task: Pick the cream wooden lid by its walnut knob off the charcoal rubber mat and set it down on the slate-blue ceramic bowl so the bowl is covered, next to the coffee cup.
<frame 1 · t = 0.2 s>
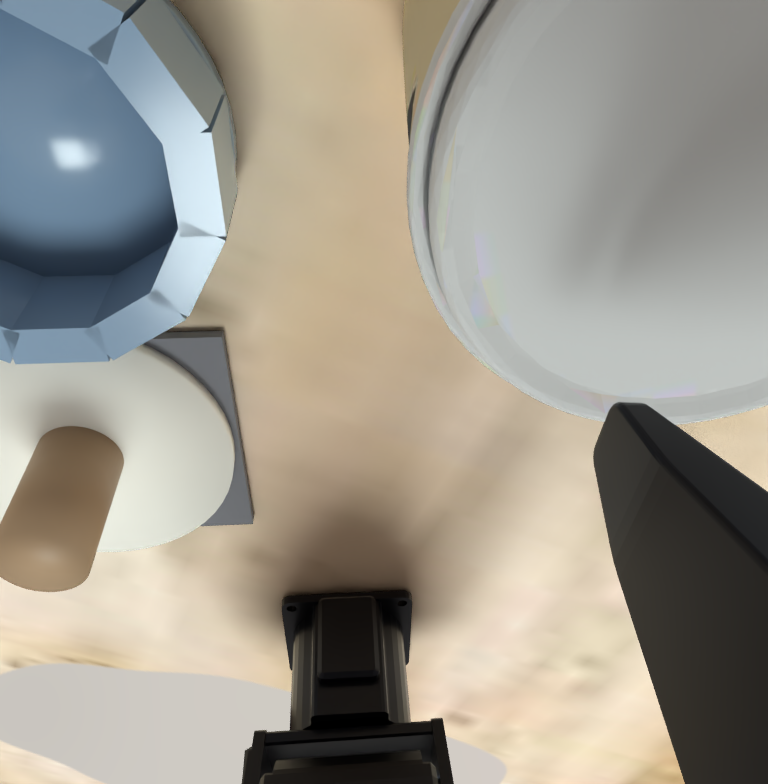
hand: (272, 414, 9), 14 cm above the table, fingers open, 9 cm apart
coffee cup: (540, 15, 19), on the table
mat: (87, 439, 28), on the table
bowl: (51, 134, 20), on the table
lid: (85, 446, 28), resting on mat
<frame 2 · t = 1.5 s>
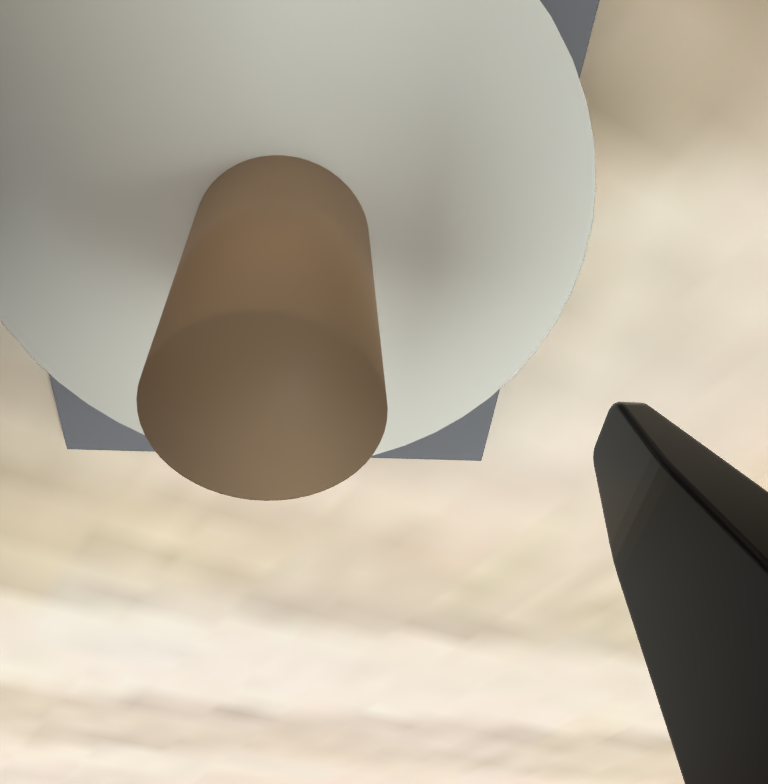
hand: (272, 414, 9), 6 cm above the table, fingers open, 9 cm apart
mat: (285, 218, 14), on the table
lid: (284, 226, 13), resting on mat
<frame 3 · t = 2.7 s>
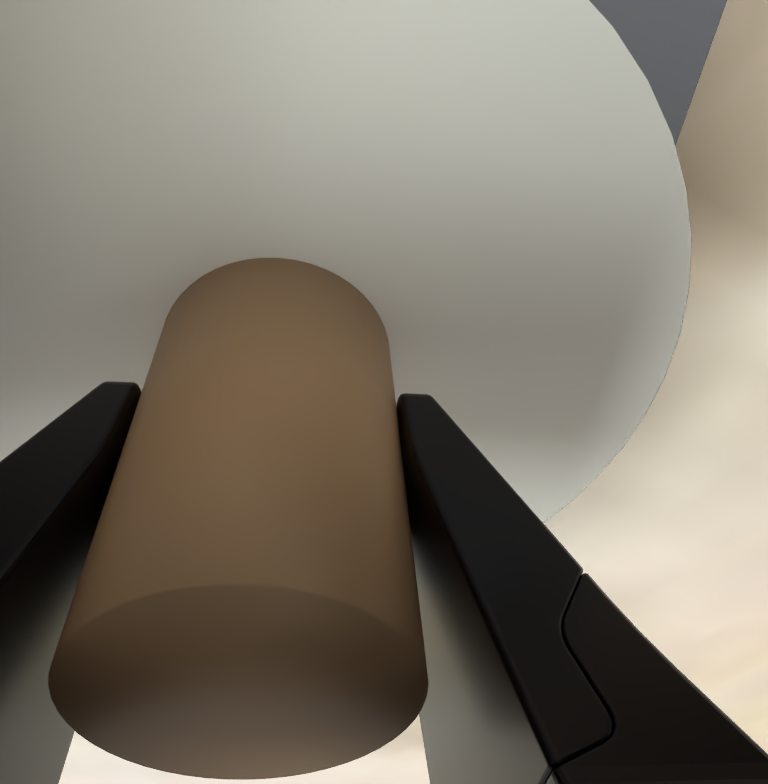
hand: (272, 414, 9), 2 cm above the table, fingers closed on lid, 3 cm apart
mat: (280, 320, 11), on the table
lid: (279, 335, 10), resting on mat, touching gripper
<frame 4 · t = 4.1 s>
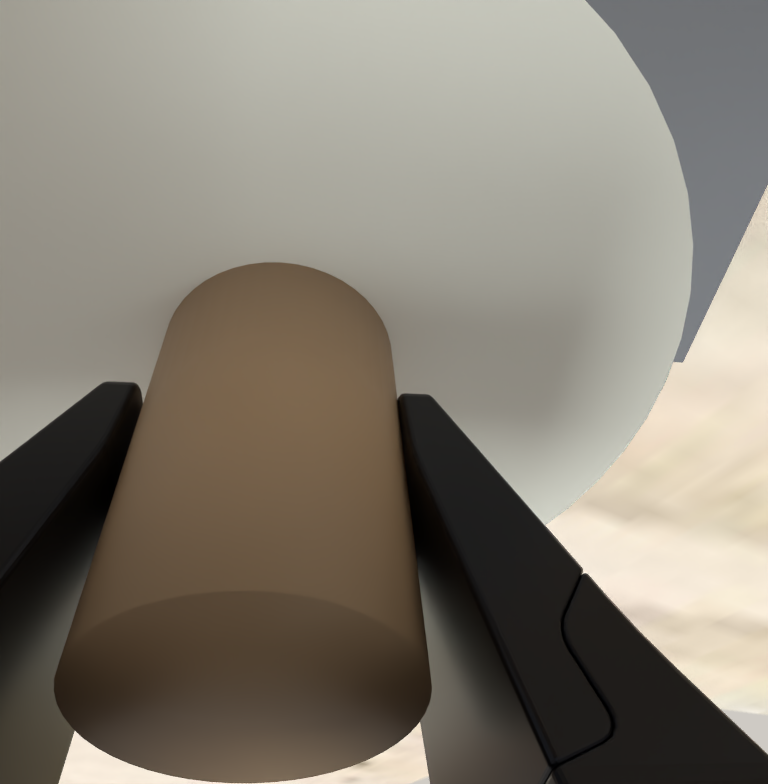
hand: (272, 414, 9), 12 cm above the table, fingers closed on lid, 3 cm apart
mat: (592, 174, 20), on the table
lid: (282, 339, 10), point 11 cm above the table, touching gripper
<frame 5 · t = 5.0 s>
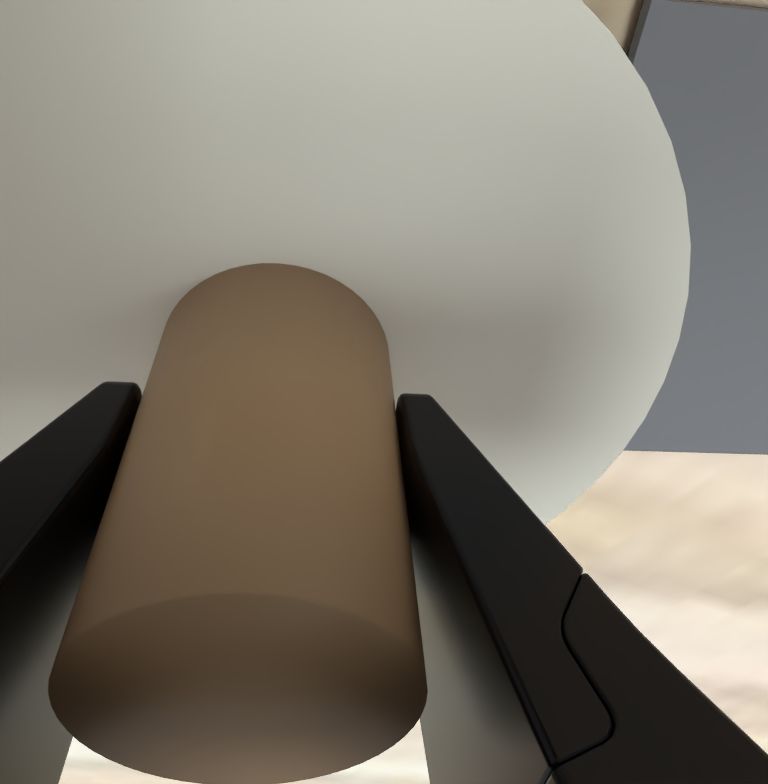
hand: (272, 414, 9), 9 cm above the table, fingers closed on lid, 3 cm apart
mat: (751, 273, 18), on the table
lid: (279, 340, 10), point 7 cm above the table, touching gripper
when the fingers open (7 cm above the table, at t = 5.5 s): lid drops 1 cm, resting on bowl.
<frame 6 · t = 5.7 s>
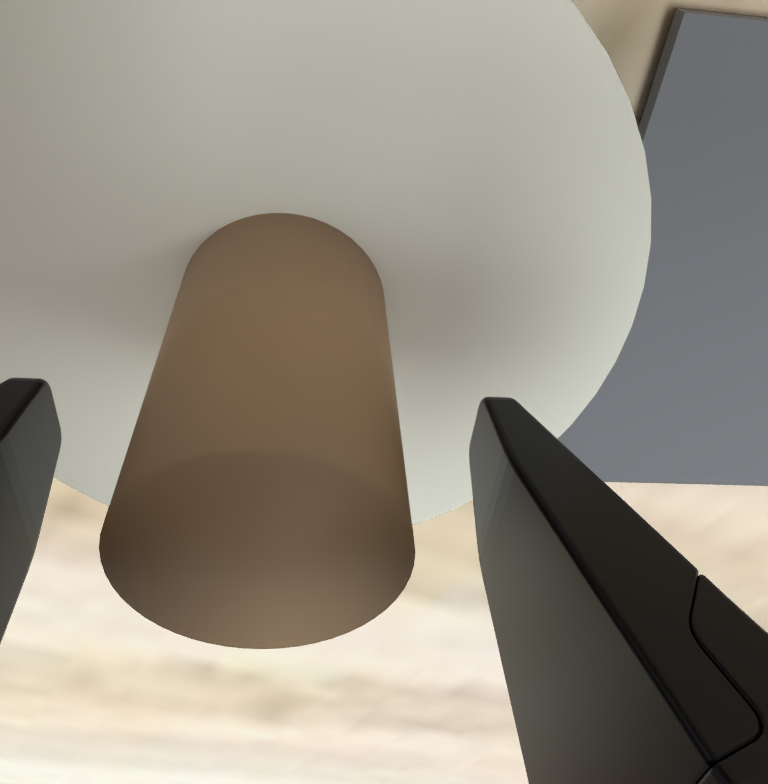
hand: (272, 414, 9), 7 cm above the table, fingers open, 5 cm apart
lid: (286, 288, 12), point 4 cm above the table, touching bowl
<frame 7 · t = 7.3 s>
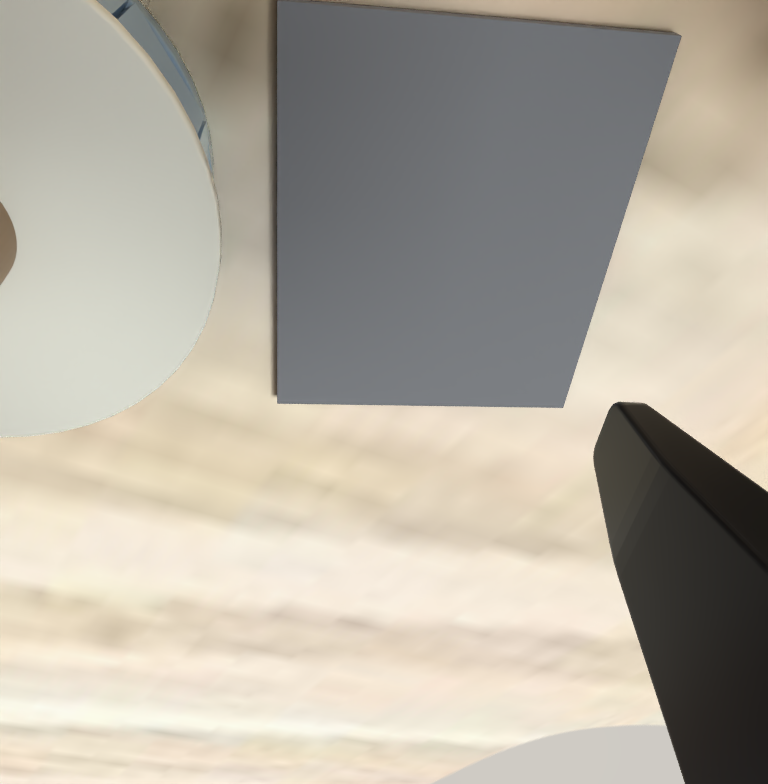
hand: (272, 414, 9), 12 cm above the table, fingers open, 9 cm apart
mat: (447, 240, 21), on the table
bowl: (3, 148, 18), on the table
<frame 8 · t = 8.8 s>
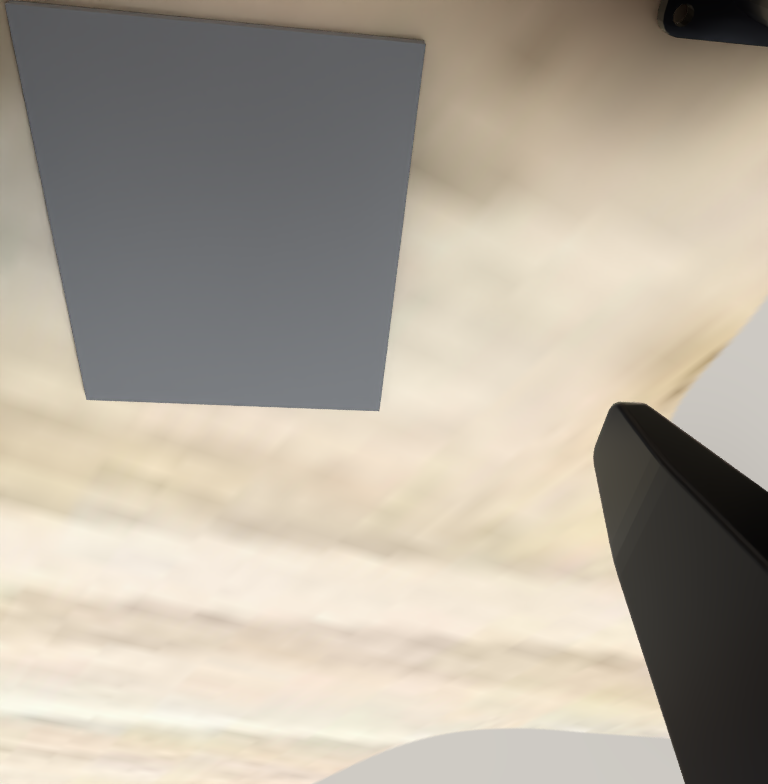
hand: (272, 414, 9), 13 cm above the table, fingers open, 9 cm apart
mat: (231, 242, 21), on the table
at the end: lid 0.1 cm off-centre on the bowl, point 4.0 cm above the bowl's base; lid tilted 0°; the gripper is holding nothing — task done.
